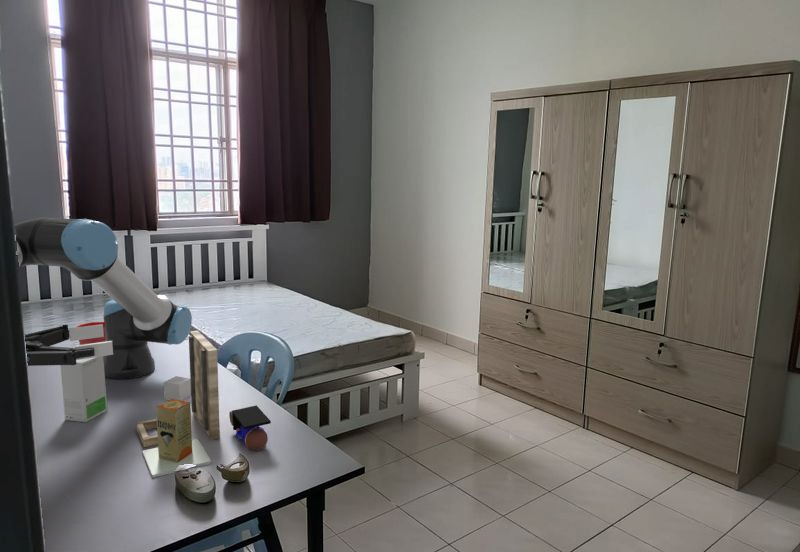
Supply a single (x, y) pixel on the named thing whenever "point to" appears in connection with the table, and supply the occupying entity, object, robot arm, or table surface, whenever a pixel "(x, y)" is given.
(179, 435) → the shoe polish box
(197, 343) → the board
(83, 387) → the skincare box
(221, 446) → the table surface
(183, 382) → the white cube
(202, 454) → the sage mat
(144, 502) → the table surface
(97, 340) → the flower pot
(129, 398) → the table surface
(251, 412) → the figurine character
